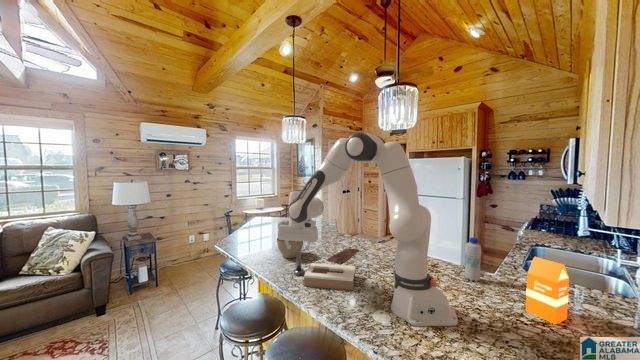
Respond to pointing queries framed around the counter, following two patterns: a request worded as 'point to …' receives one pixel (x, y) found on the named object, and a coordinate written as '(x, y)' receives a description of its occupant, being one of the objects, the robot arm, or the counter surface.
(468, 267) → the bottle
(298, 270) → the peg
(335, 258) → the wooden tablet
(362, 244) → the counter surface
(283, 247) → the planter bowl
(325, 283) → the keyhole plate
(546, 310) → the orange juice
